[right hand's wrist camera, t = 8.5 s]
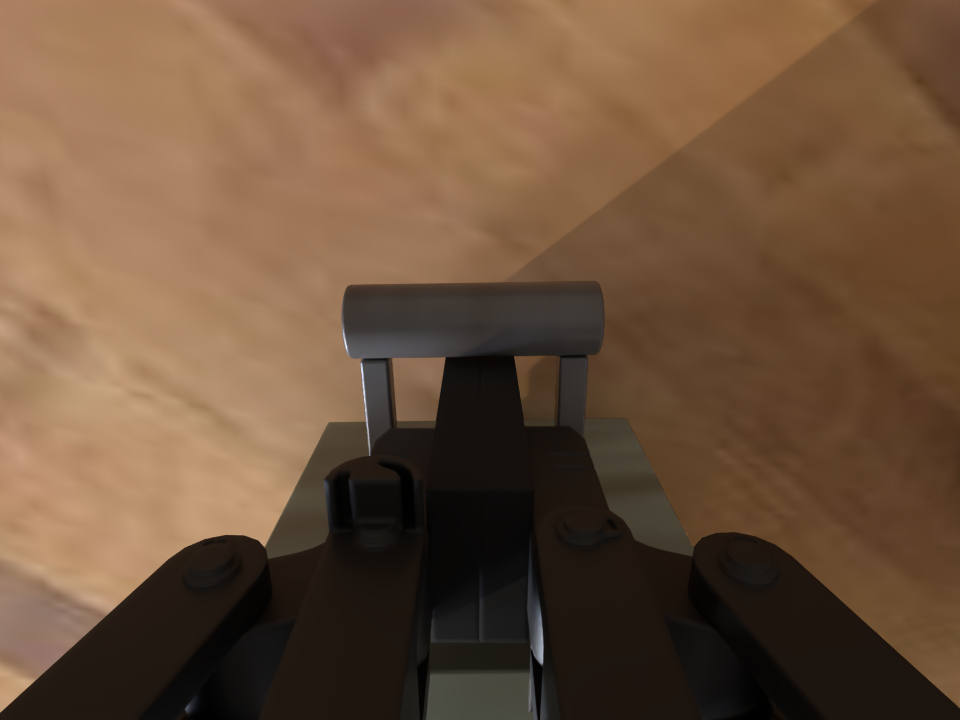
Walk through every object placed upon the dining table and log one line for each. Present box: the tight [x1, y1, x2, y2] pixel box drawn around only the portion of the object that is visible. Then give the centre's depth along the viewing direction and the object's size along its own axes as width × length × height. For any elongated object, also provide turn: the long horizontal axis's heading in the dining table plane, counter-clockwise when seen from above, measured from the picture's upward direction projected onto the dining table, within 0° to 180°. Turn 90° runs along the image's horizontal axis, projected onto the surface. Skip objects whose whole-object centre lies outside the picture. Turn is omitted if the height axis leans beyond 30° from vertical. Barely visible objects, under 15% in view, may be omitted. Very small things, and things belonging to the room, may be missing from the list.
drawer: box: [264, 281, 694, 720], centre depth 16 cm, size 20×9×9 cm, turn 1°
